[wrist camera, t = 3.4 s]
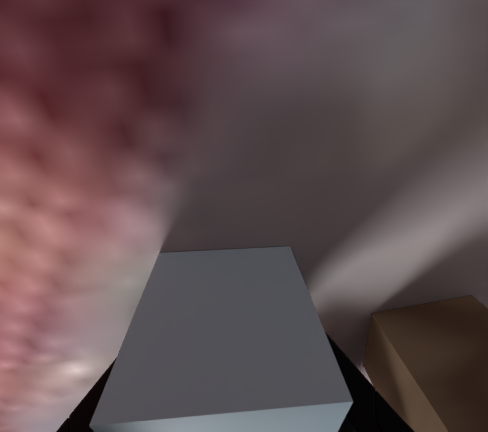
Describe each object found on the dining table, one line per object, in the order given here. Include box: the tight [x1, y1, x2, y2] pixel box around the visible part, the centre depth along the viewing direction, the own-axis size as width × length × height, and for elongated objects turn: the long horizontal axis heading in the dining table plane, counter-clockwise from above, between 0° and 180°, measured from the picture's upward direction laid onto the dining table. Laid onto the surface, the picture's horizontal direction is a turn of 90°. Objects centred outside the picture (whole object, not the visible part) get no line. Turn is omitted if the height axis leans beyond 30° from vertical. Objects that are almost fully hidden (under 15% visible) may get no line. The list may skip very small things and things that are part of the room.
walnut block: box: [363, 295, 488, 432], centre depth 10 cm, size 5×5×5 cm
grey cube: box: [89, 246, 353, 432], centre depth 8 cm, size 5×5×5 cm
